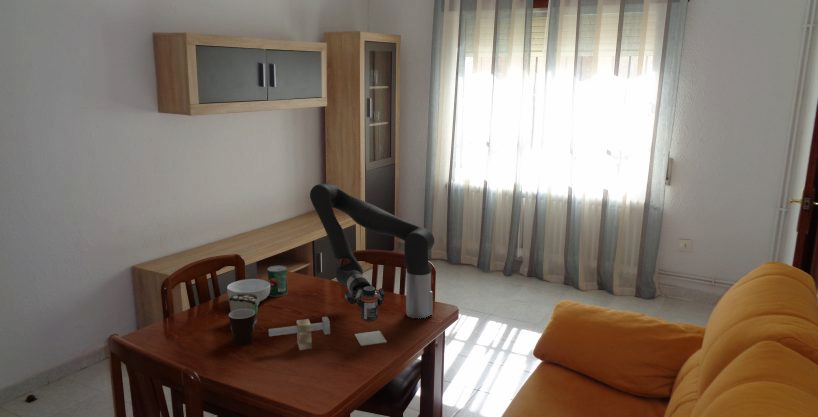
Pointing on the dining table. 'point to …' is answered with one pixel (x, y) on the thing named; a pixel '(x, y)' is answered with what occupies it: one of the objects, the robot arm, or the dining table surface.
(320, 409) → the dining table surface
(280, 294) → the canned tomato
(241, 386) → the dining table surface
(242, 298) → the food container
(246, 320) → the coffee mug
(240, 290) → the cereal bowl
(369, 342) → the mat
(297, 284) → the dining table surface
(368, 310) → the supplement bottle
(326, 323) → the t bolt
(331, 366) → the dining table surface
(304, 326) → the keeper
